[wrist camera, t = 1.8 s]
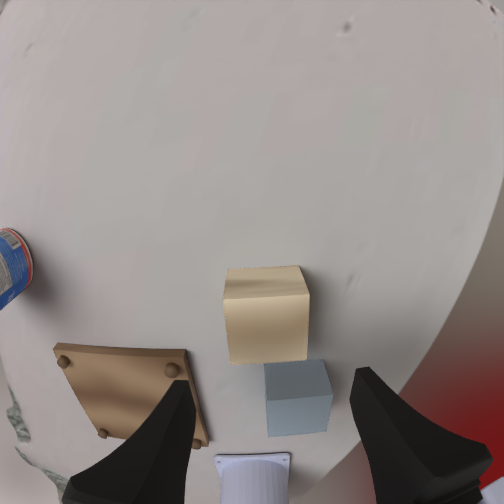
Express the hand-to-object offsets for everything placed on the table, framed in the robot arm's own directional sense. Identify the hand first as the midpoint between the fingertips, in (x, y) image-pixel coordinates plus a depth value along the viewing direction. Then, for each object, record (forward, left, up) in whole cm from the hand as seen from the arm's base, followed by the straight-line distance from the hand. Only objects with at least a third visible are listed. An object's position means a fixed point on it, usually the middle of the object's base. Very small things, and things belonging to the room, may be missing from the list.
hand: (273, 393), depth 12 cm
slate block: (-8, -2, -9) cm, 12 cm away
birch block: (0, 0, -9) cm, 9 cm away
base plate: (-10, +12, -8) cm, 18 cm away
